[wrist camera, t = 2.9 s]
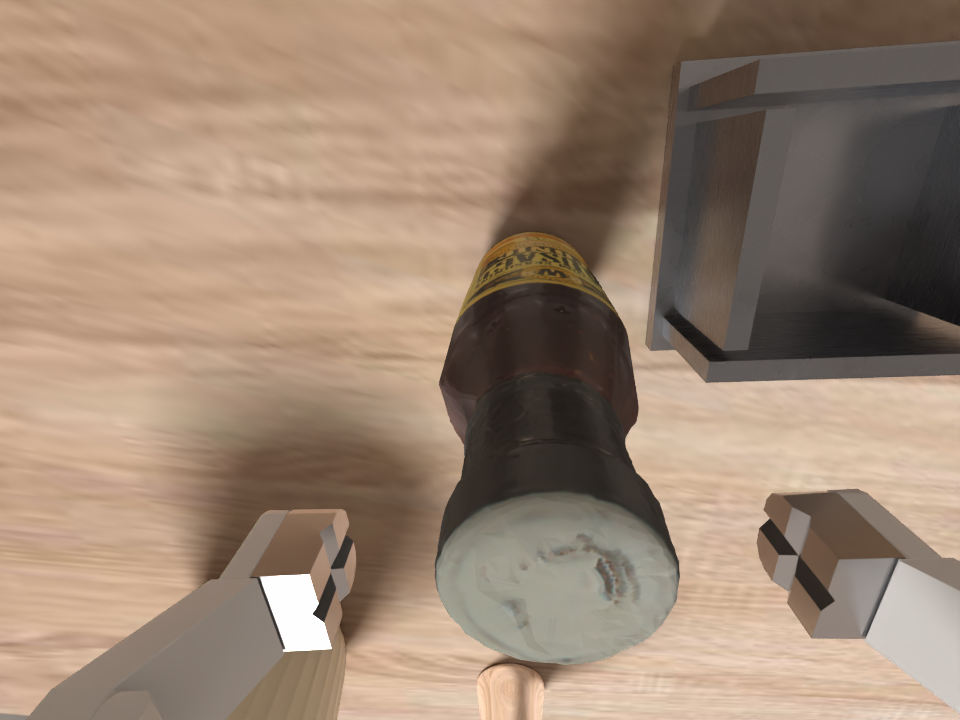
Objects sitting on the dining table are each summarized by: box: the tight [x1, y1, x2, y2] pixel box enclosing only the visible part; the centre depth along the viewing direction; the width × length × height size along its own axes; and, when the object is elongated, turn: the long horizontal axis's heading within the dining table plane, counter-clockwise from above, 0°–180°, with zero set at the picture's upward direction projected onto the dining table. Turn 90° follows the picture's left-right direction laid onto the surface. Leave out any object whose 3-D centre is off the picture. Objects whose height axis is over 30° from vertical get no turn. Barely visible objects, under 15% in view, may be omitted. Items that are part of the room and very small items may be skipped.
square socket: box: [646, 40, 960, 383], centre depth 20 cm, size 14×14×7 cm
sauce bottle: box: [435, 232, 680, 665], centre depth 16 cm, size 6×6×20 cm
